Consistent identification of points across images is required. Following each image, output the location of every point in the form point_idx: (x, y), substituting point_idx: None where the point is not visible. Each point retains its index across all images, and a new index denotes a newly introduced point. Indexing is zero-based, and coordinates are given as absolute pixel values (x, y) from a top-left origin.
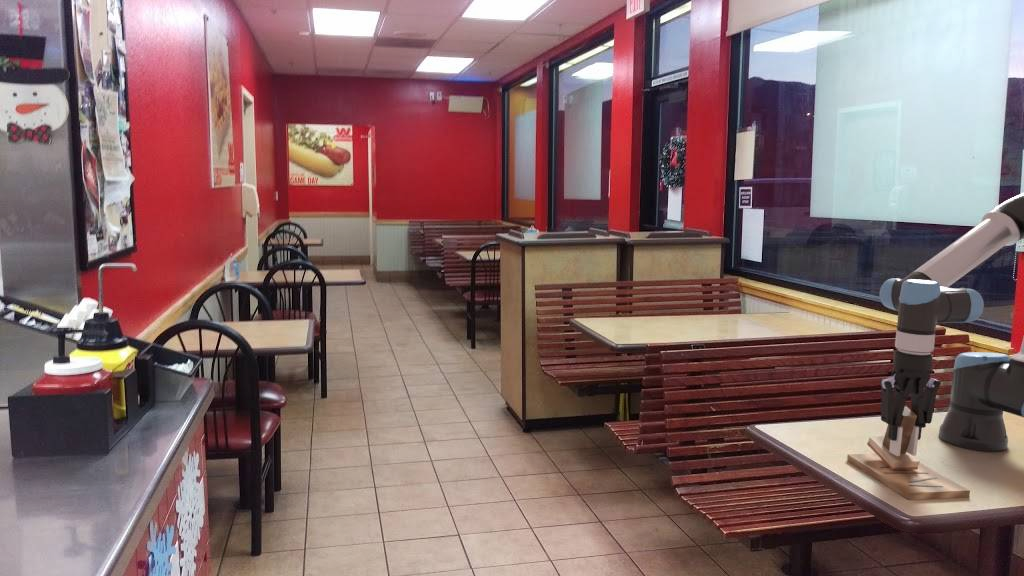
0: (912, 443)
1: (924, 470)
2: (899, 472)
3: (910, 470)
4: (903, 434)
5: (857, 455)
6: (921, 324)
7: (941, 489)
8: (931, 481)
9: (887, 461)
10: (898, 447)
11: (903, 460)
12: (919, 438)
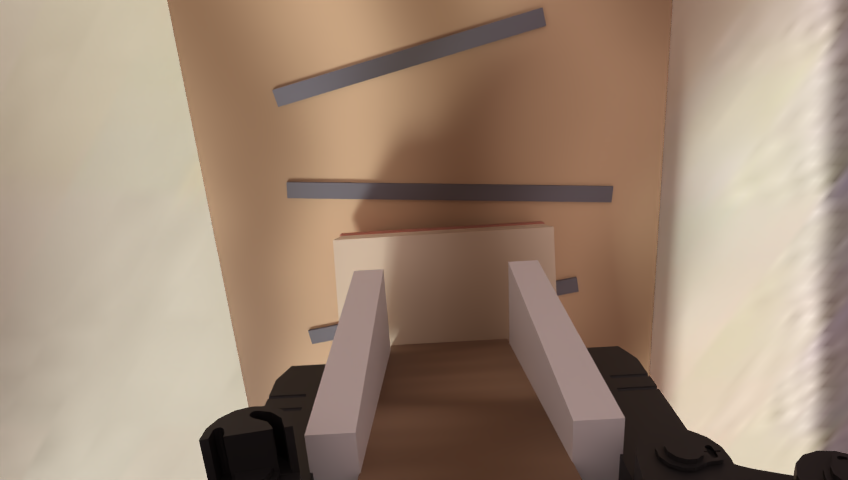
0: (378, 338)
1: (286, 238)
2: (498, 197)
3: None
4: (477, 413)
5: None
6: None
7: None
8: (351, 33)
9: None
10: (545, 292)
11: (465, 250)
12: (291, 375)
